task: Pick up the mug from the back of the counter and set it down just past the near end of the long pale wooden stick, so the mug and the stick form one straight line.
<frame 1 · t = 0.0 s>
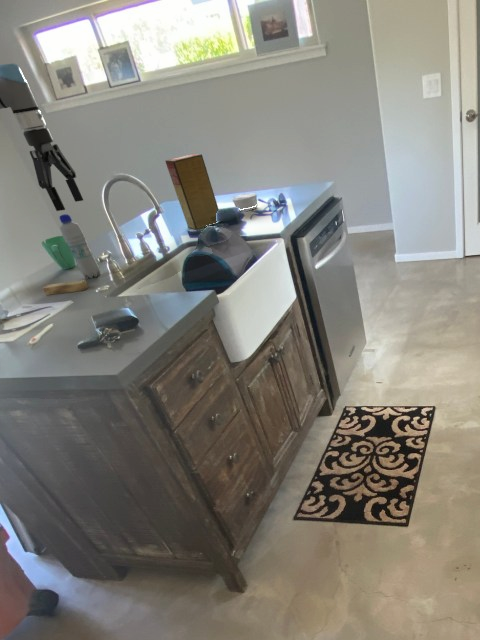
hand: (70, 205, 176), 21 cm above the worktop, tool pointing down, fingers open, 13 cm apart
stick: (67, 291, 176), on the worktop
food packaging: (205, 225, 227), on the worktop
ramekin: (247, 209, 240), on the worktop
mug: (68, 269, 199), on the worktop
bottle: (93, 276, 186), on the worktop
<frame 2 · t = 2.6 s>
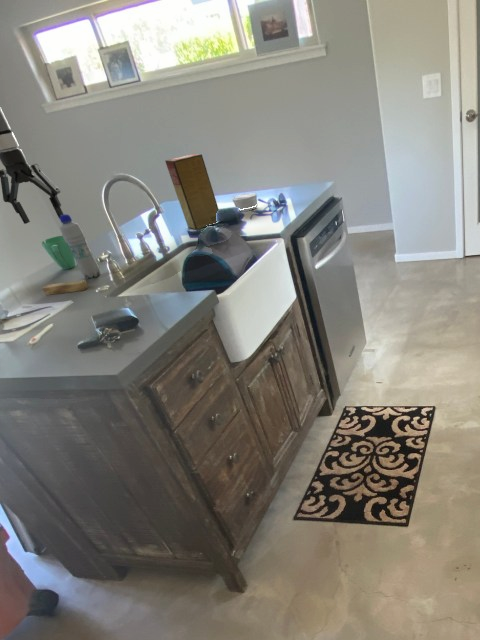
hand: (44, 220, 188), 17 cm above the worktop, tool pointing down, fingers open, 13 cm apart
nothing on the worktop moved.
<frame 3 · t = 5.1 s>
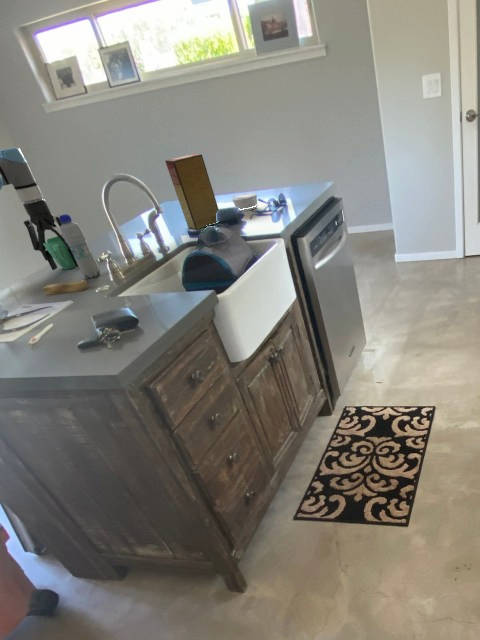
hand: (66, 267, 199), 1 cm above the worktop, tool pointing down, fingers closed on mug, 9 cm apart
mug: (69, 269, 199), on the worktop, touching gripper
everything else where it was.
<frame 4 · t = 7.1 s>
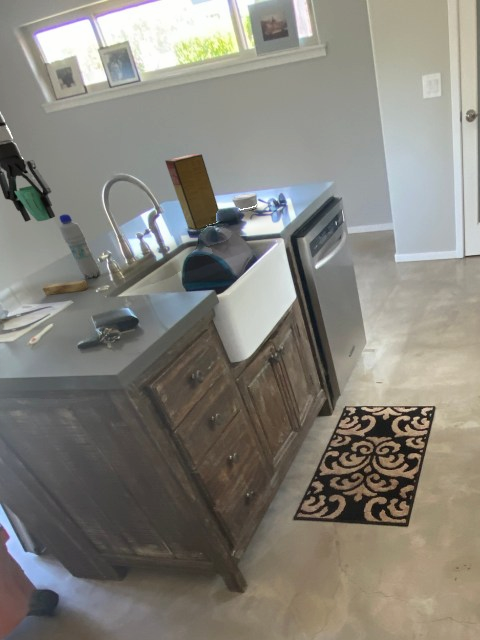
hand: (40, 218, 186), 18 cm above the worktop, tool pointing down, fingers closed on mug, 9 cm apart
mug: (44, 221, 187), point 17 cm above the worktop, touching gripper
everything else where it was.
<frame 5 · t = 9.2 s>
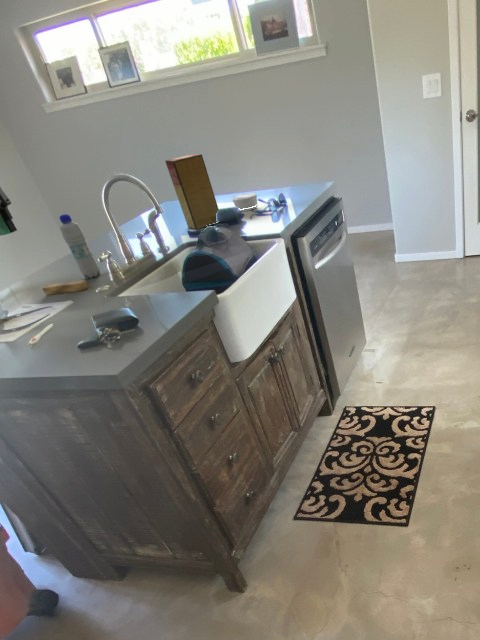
hand: (0, 233, 167), 19 cm above the worktop, tool pointing down, fingers closed on mug, 9 cm apart
mug: (4, 235, 168), point 18 cm above the worktop, touching gripper
everything else where it was.
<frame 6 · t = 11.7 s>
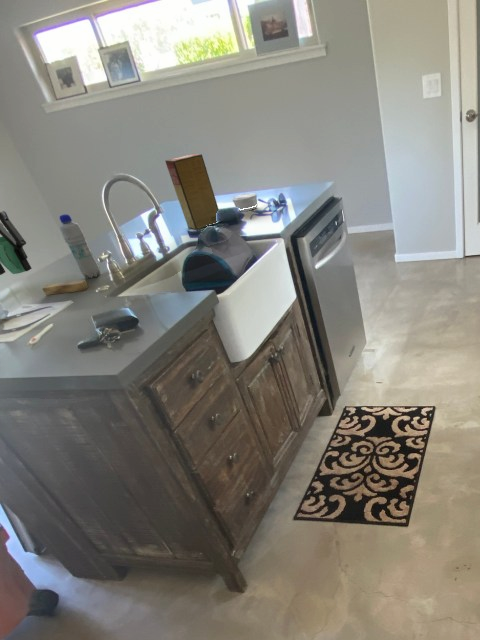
hand: (15, 271, 172), 8 cm above the worktop, tool pointing down, fingers closed on mug, 9 cm apart
mug: (19, 273, 172), point 7 cm above the worktop, touching gripper
everything else where it was.
when the fingers open (1 cm above the worktop, at t = 13.8 s): mug stays where it is, on the worktop.
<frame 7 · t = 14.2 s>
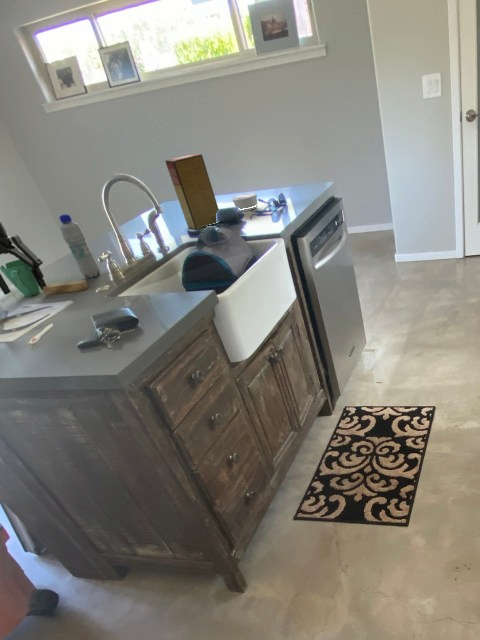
hand: (26, 290, 176), 2 cm above the worktop, tool pointing down, fingers open, 13 cm apart
stick: (67, 291, 176), on the worktop, touching gripper
mug: (32, 296, 177), on the worktop
everything else where it was.
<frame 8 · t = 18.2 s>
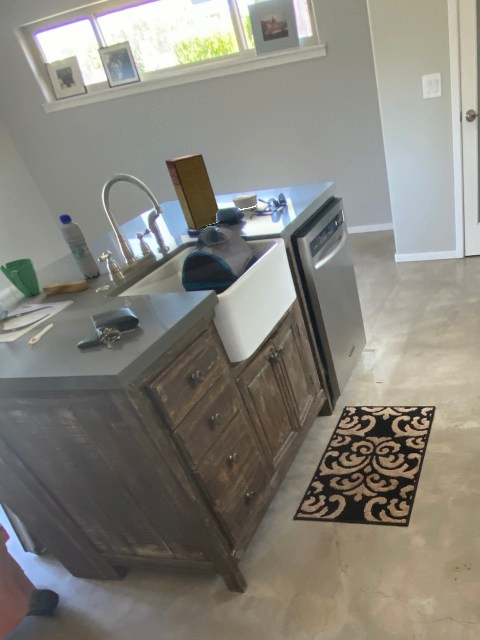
stick: (67, 291, 176), on the worktop
everything else where it was.
at the end: mug 2.0 cm from the target spot on the worktop beside the stick, on the worktop; mug tilted 0° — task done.
